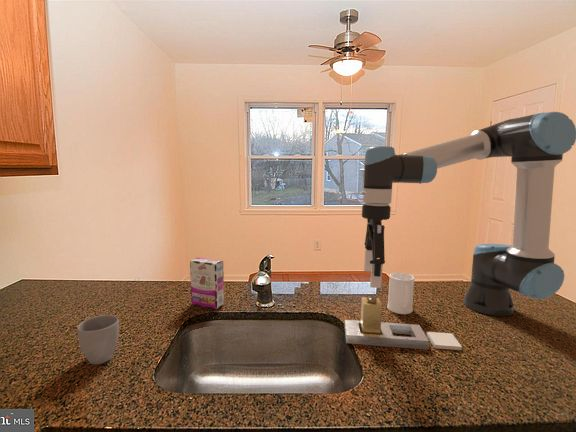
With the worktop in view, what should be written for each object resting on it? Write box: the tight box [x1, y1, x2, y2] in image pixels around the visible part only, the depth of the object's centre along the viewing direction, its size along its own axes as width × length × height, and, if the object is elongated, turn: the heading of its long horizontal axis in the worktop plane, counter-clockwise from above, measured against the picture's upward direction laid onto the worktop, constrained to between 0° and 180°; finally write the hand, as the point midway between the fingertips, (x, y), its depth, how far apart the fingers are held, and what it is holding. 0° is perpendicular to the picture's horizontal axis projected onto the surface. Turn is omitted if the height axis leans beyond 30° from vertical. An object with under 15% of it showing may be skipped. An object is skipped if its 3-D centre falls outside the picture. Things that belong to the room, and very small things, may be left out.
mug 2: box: [386, 272, 415, 315], centre depth 106 cm, size 12×8×12 cm
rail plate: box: [344, 319, 430, 350], centre depth 89 cm, size 22×9×2 cm, turn 83°
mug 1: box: [76, 314, 120, 365], centre depth 79 cm, size 12×9×10 cm
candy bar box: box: [189, 257, 225, 310], centre depth 109 cm, size 11×5×16 cm, turn 68°
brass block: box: [360, 296, 383, 335], centre depth 89 cm, size 5×5×12 cm
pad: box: [426, 331, 463, 351], centre depth 87 cm, size 7×7×1 cm
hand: (371, 278), depth 87 cm, fingers open, 13 cm apart
